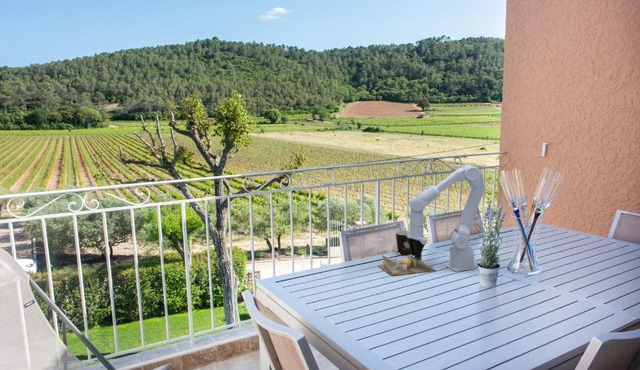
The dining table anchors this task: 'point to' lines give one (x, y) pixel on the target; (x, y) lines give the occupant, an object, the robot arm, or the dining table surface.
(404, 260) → the ball
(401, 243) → the coffee mug
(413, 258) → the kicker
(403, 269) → the brown piece
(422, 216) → the robot arm
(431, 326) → the dining table surface
